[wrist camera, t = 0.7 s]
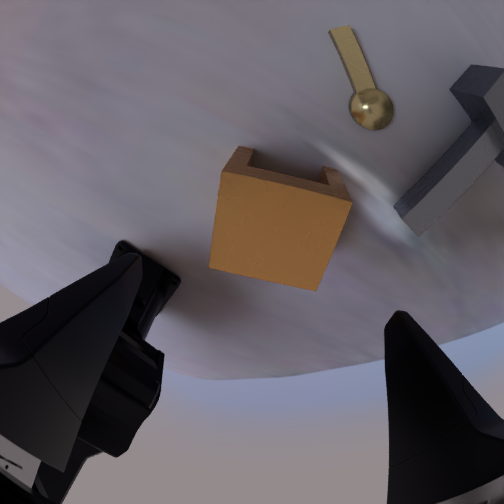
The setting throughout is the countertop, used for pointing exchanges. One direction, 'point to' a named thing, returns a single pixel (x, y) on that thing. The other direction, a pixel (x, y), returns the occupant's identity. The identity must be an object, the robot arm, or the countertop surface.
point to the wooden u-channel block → (277, 223)
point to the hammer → (461, 149)
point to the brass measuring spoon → (361, 83)
